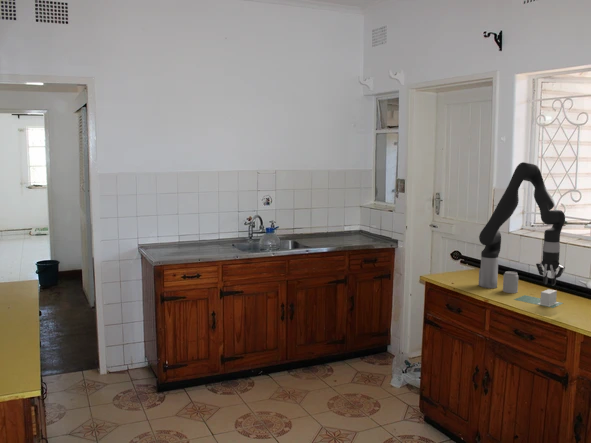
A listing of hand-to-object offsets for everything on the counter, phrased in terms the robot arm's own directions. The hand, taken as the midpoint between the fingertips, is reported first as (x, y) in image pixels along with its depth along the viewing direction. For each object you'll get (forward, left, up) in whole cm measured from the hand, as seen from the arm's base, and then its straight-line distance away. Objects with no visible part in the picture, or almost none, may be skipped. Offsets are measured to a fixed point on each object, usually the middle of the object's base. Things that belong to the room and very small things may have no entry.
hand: (549, 284), depth 275 cm
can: (-24, +8, -11) cm, 28 cm away
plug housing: (0, 0, -10) cm, 10 cm away
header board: (-5, 0, -11) cm, 12 cm away
